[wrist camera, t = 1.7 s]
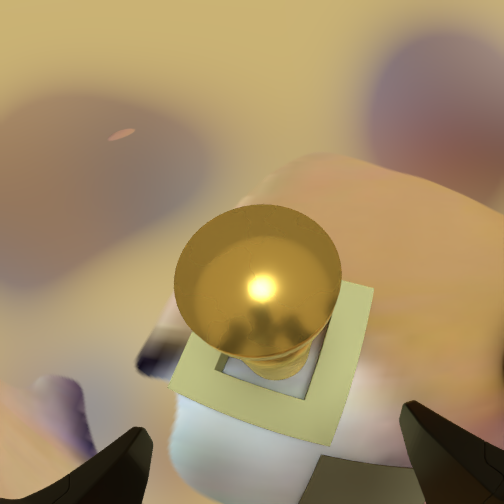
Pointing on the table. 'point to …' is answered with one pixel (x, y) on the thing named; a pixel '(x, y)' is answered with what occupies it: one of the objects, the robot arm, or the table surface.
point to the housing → (276, 404)
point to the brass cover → (259, 286)
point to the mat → (361, 484)
